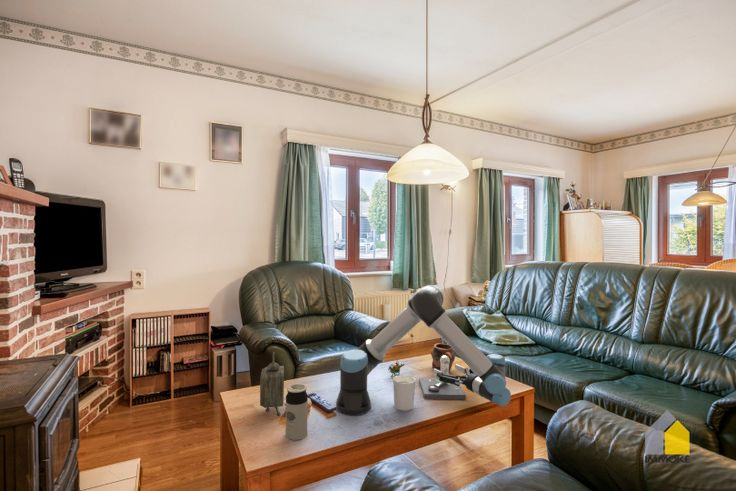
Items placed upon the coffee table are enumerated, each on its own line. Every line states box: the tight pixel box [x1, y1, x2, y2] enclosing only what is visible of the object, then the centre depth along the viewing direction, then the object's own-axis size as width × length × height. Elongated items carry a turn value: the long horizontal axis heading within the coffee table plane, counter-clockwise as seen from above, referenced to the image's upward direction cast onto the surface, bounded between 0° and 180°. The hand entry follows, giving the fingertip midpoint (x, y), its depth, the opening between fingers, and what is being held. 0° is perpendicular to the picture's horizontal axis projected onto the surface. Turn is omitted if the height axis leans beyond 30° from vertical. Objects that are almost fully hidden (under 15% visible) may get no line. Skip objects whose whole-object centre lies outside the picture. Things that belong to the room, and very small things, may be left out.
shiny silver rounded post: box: [428, 355, 450, 391], centre depth 179 cm, size 15×5×14 cm, turn 138°
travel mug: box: [285, 383, 309, 441], centre depth 139 cm, size 8×8×18 cm
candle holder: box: [392, 374, 417, 411], centre depth 163 cm, size 10×10×12 cm
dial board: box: [418, 377, 467, 400], centre depth 181 cm, size 19×19×2 cm
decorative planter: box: [430, 342, 456, 372], centre depth 206 cm, size 20×12×14 cm, turn 20°
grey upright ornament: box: [259, 351, 285, 417], centre depth 157 cm, size 14×9×25 cm, turn 12°
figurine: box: [387, 359, 406, 377], centre depth 198 cm, size 3×12×8 cm, turn 128°
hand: (445, 368), depth 182 cm, fingers open, 13 cm apart
